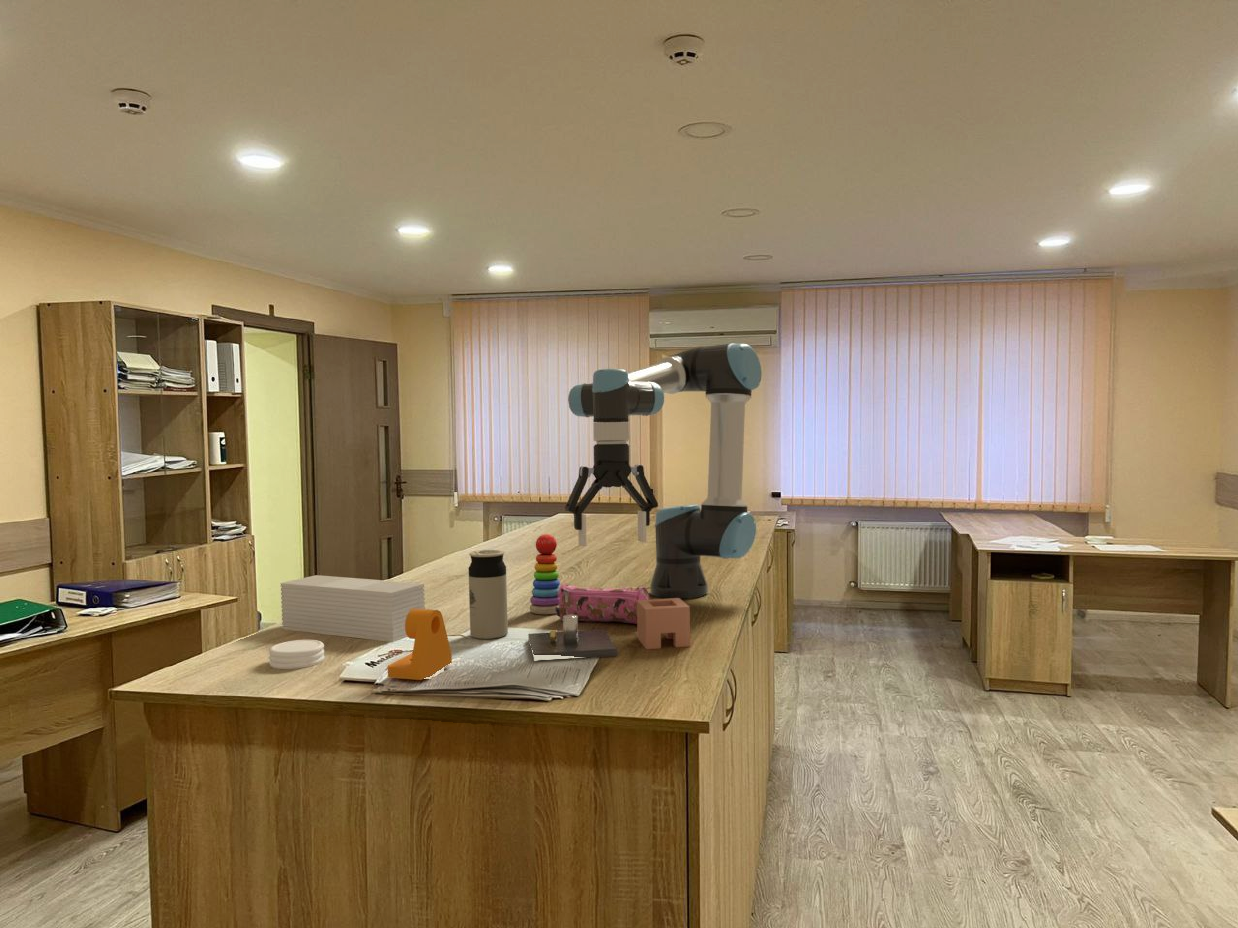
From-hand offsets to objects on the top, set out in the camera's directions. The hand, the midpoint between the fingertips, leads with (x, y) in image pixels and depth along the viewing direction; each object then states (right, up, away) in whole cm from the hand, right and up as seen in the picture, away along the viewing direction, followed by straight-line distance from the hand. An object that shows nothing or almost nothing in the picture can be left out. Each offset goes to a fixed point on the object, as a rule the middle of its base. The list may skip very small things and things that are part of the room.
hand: (612, 543), depth 179 cm
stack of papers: (-58, -21, +11) cm, 63 cm away
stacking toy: (-16, -19, +25) cm, 35 cm away
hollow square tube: (+10, -20, -6) cm, 23 cm away
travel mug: (-27, -20, +3) cm, 34 cm away
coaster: (-61, -22, -15) cm, 67 cm away
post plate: (-8, -20, -9) cm, 24 cm away
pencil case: (-2, -20, +13) cm, 24 cm away
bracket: (-35, -22, -25) cm, 48 cm away
